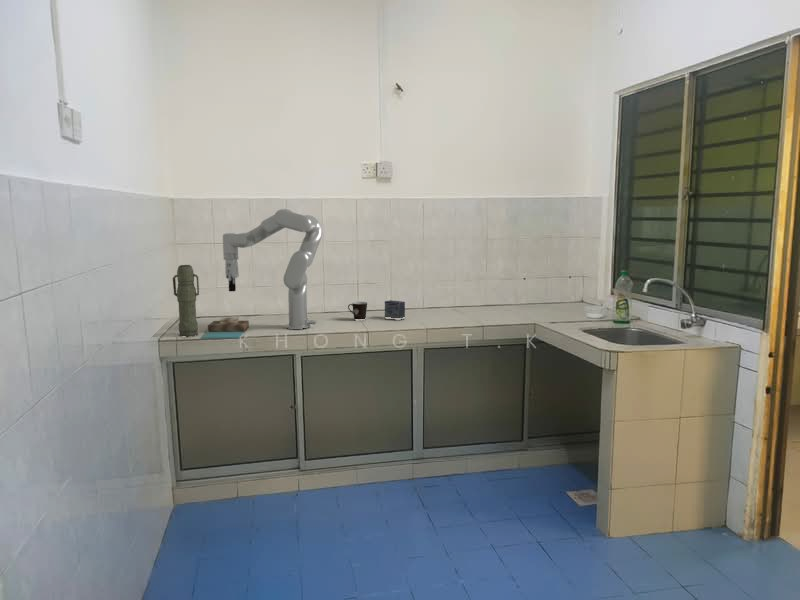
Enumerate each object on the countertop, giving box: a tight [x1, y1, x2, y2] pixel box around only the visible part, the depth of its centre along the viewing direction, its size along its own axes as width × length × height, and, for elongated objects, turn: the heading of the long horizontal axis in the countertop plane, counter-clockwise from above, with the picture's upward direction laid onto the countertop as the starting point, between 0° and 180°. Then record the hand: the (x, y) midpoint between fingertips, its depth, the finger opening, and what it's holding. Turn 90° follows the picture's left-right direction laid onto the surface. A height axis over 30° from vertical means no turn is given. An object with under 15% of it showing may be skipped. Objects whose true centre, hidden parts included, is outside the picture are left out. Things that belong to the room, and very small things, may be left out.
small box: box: [384, 300, 406, 318], centre depth 327 cm, size 11×6×10 cm, turn 58°
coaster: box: [219, 316, 239, 324], centre depth 295 cm, size 8×6×2 cm
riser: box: [207, 320, 250, 333], centre depth 294 cm, size 18×12×4 cm, turn 94°
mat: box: [200, 331, 245, 340], centre depth 282 cm, size 18×12×1 cm, turn 94°
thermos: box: [172, 264, 200, 338], centre depth 280 cm, size 9×12×35 cm
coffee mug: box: [347, 301, 368, 320], centre depth 324 cm, size 12×9×10 cm
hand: (232, 291), depth 302 cm, fingers closed
